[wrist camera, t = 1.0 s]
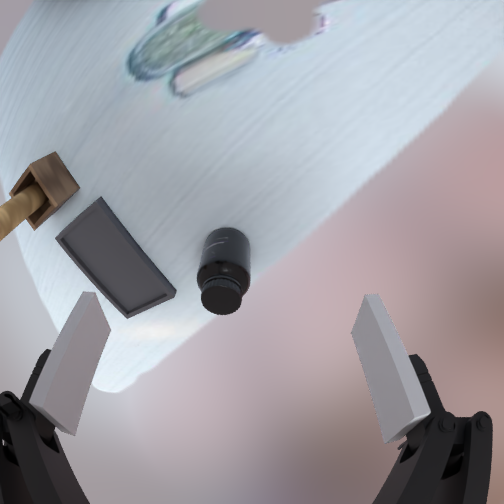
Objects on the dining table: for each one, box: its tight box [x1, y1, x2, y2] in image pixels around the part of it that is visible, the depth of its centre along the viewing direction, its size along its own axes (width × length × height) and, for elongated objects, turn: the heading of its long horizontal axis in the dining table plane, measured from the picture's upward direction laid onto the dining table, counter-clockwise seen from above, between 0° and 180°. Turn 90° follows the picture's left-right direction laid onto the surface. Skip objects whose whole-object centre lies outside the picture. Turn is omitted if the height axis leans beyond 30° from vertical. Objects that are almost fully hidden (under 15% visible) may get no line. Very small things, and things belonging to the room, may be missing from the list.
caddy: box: [9, 151, 80, 231], centre depth 33 cm, size 7×7×6 cm
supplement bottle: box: [197, 228, 250, 315], centre depth 37 cm, size 7×7×12 cm
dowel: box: [0, 182, 50, 241], centre depth 28 cm, size 4×4×16 cm
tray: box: [55, 197, 176, 319], centre depth 43 cm, size 20×12×2 cm, turn 29°
